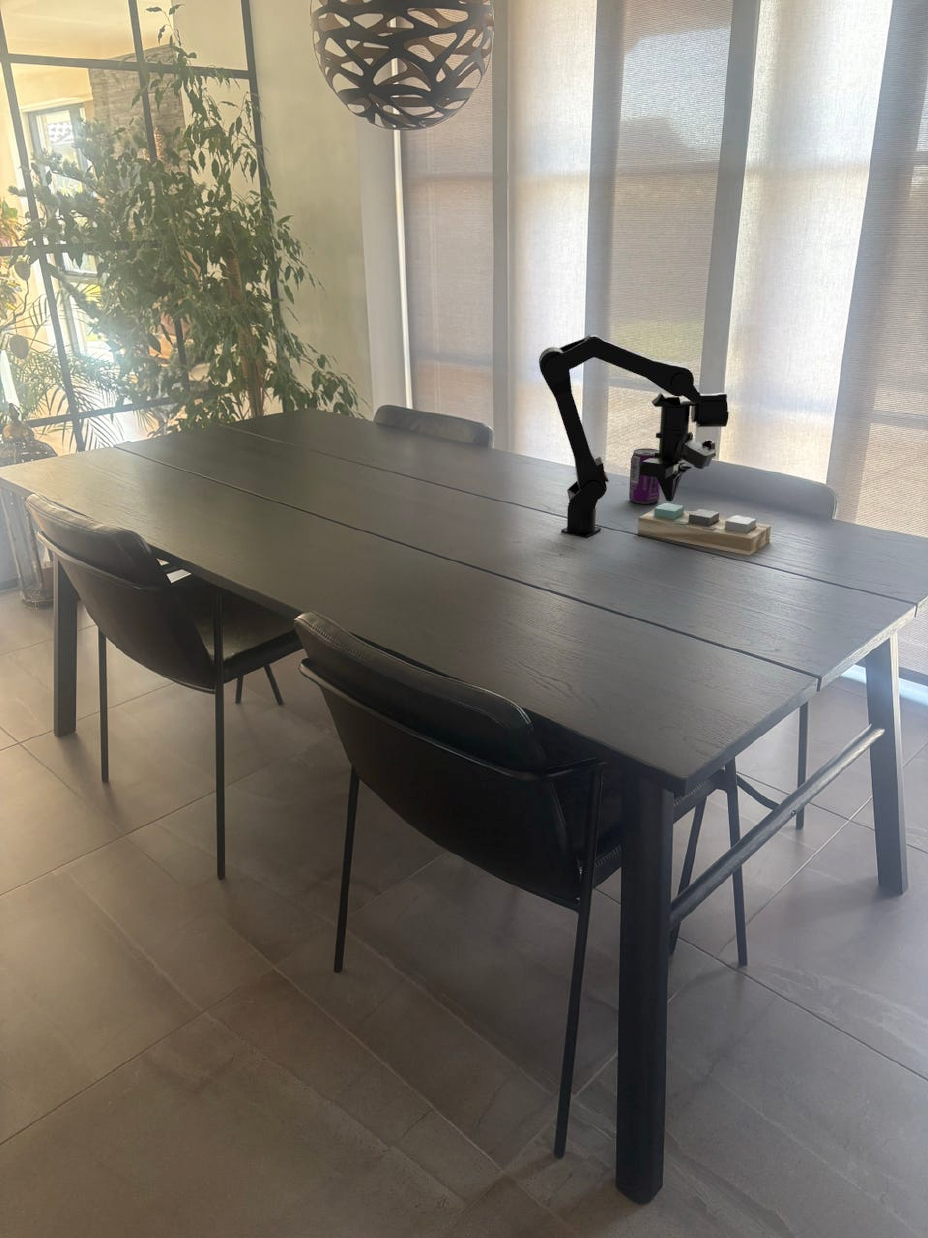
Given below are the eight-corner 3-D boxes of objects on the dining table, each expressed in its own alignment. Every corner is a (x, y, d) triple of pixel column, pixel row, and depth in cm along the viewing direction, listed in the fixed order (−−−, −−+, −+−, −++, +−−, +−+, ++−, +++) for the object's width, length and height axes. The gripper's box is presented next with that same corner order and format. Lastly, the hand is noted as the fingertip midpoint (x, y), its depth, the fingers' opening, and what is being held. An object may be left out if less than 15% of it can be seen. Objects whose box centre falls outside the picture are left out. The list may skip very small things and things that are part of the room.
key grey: (745, 538, 187) (747, 524, 186) (724, 534, 190) (725, 520, 189) (754, 532, 190) (756, 518, 189) (733, 528, 193) (734, 514, 192)
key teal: (673, 525, 196) (674, 511, 195) (653, 521, 199) (654, 507, 198) (683, 519, 200) (684, 506, 198) (663, 516, 202) (664, 502, 201)
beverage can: (659, 505, 217) (662, 455, 212) (628, 504, 219) (630, 454, 214) (659, 497, 224) (662, 447, 219) (629, 496, 225) (631, 447, 220)
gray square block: (708, 531, 192) (709, 517, 191) (688, 527, 194) (689, 514, 193) (718, 526, 195) (719, 512, 194) (697, 522, 198) (698, 508, 196)
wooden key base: (749, 555, 185) (751, 537, 183) (637, 533, 199) (638, 516, 198) (769, 541, 192) (771, 524, 190) (659, 521, 206) (660, 505, 205)
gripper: (689, 440, 180) (684, 518, 186) (730, 423, 193) (723, 496, 200) (638, 434, 187) (634, 509, 193) (681, 417, 200) (676, 488, 206)
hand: (669, 500), depth 198 cm, fingers closed
